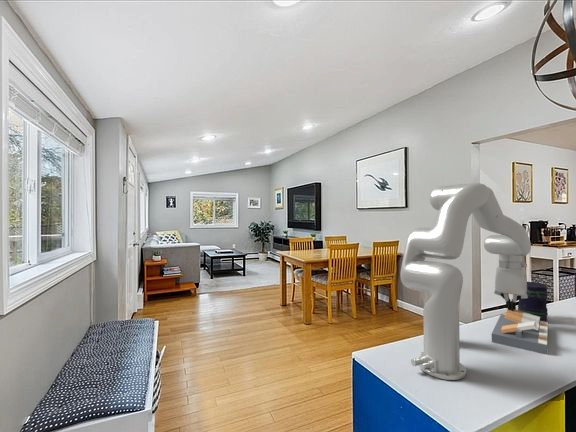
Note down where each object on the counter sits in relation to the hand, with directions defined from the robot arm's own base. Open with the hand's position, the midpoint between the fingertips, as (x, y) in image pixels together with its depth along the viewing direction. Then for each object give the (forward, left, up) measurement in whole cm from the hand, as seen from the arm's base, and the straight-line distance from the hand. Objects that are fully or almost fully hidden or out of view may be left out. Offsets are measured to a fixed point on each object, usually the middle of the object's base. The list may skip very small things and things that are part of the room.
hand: (510, 310), depth 120 cm
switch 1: (+2, -3, -1) cm, 4 cm away
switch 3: (-12, -11, -1) cm, 17 cm away
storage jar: (+17, +3, -7) cm, 18 cm away
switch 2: (-5, -7, -1) cm, 9 cm away
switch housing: (-5, -7, -6) cm, 11 cm away
